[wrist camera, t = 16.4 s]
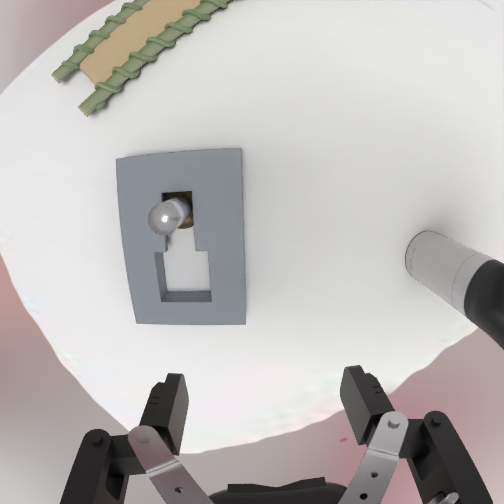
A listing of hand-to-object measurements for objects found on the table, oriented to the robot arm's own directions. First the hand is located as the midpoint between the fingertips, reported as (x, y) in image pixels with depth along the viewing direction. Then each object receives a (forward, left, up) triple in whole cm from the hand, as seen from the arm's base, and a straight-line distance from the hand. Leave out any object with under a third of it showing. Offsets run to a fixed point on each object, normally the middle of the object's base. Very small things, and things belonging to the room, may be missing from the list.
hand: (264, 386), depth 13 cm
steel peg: (+10, -5, -32) cm, 34 cm away
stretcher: (+14, -38, -33) cm, 52 cm away
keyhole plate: (+10, 0, -32) cm, 34 cm away
